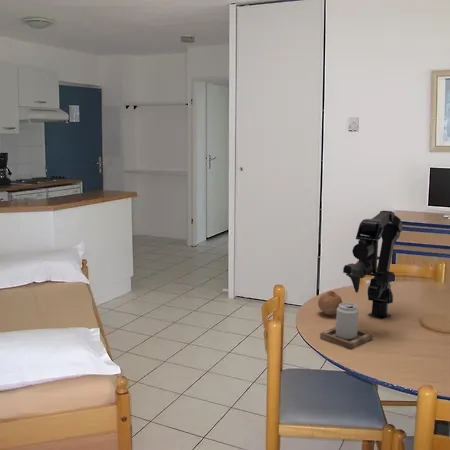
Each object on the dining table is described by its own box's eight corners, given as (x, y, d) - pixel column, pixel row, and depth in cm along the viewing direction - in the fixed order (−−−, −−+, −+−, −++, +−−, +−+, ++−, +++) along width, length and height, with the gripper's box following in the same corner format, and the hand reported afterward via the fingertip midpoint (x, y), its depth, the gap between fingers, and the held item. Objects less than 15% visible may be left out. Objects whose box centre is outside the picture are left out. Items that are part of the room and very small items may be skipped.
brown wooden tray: (341, 329, 203) (341, 324, 202) (372, 339, 193) (372, 334, 193) (320, 338, 194) (320, 333, 194) (350, 349, 185) (351, 343, 184)
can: (352, 343, 189) (353, 310, 186) (332, 338, 193) (333, 305, 191) (360, 336, 195) (361, 304, 193) (340, 331, 199) (341, 300, 197)
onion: (346, 317, 215) (347, 293, 214) (325, 320, 212) (326, 295, 210) (333, 309, 224) (334, 286, 222) (313, 312, 221) (314, 288, 219)
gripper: (335, 253, 200) (333, 293, 203) (380, 262, 186) (377, 306, 189) (352, 248, 207) (350, 287, 210) (397, 257, 194) (394, 299, 197)
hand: (367, 295), depth 201 cm, fingers open, 9 cm apart
